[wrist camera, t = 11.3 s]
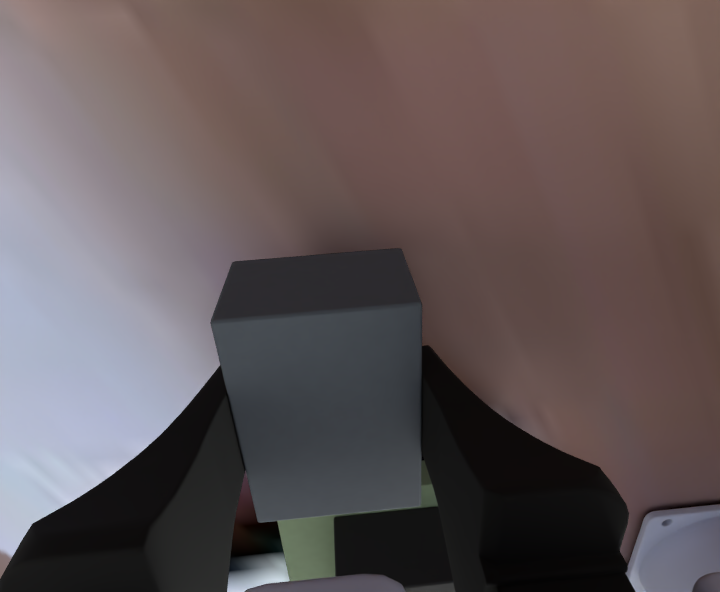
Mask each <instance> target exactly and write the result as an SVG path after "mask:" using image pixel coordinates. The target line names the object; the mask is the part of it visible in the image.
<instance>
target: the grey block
mask: <svg viewBox="0 0 720 592" xmlns="http://www.w3.org/2000/svg"><path fill="white" fill-rule="evenodd" d="M211 327H212V331H213V335H214V340H215V344H216V348H217V352H218V356H219V361H220V365H221V369H222V373H223V377H224V382H225V386H226V390H227V394H228V398H229V403H230V407H231V411H232V415H233V419H234V424H235V428H236V432H237V436H238V440H239V445H240V449H241V453H242V457H243V461H244V465H245V470H246V474H247V478H248V482H249V486H250V491H251V495H252V499H253V503H254V507H255V512H256V516H257V520H258V522H270V521H280V520H290V519H300V518H310V517H320V516H330V515H339V514H349V513H359V512H369V511H379V510H389V509H399V508H409V507H418V506H420V505H421V441H422V303H421V300H420V297H419V295H418V292H417V289H416V287H415V284H414V281H413V279H412V276H411V273H410V271H409V268H408V265H407V262H406V260H405V257H404V254H403V252H402V249H400V248H394V249H382V250H369V251H357V252H345V253H333V254H321V255H308V256H296V257H284V258H272V259H259V260H247V261H235V262H233V263H232V264H231V267H230V270H229V273H228V275H227V278H226V281H225V284H224V286H223V289H222V292H221V295H220V297H219V300H218V303H217V305H216V308H215V311H214V314H213V316H212V319H211Z"/></svg>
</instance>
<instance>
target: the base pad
mask: <svg viewBox="0 0 720 592" xmlns="http://www.w3.org/2000/svg"><path fill="white" fill-rule="evenodd" d="M428 507H438V504H437V500H436V496H435V493H434V489H433V486H432V483H431V480H430V477H429V473H428V470H427V467H426V464H425V461H424V460H423V461H421V505H420V506H418V507H409V508H399V509H389V510H379V511H369V512H359V513H349V514H339V515H330V516H320V517H310V518H300V519H290V520H280V521H277V522H278V527H279V531H280V536H281V541H282V546H283V550H284V555H285V560H286V565H287V570H288V574H289V579H290V581H299V580H308V579H318V578H327V577H335V549H334V518H335V517H341V516H351V515H361V514H370V513H380V512H390V511H399V510H409V509H419V508H428Z"/></svg>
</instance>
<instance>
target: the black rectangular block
mask: <svg viewBox="0 0 720 592" xmlns="http://www.w3.org/2000/svg"><path fill="white" fill-rule="evenodd" d="M334 549H335V577H337V576H346V575H356V574H378V575H385V576H387V577H389V578H391V579H393V580H395V581H397V582H399V583H400V584H402V586H403V588H404V590H405V592H455V588H454V583H453V577H452V572H451V567H450V562H449V557H448V552H447V547H446V542H445V537H444V532H443V527H442V522H441V517H440V513H439V508H438V507H428V508H419V509H409V510H399V511H390V512H380V513H370V514H361V515H351V516H341V517H335V518H334Z"/></svg>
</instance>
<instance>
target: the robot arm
mask: <svg viewBox="0 0 720 592" xmlns="http://www.w3.org/2000/svg"><path fill="white" fill-rule="evenodd" d="M421 451H422V455H423V458H424V461H425V464H426V467H427V470H428V473H429V477H430V480H431V483H432V486H433V489H434V493H435V496H436V500H437V504H438V508H439V513H440V517H441V522H442V527H443V532H444V537H445V542H446V547H447V552H448V557H449V562H450V567H451V572H452V577H453V583H454V588H455V592H720V504H716V505H706V506H697V507H687V508H678V509H668V510H659V511H652V512H650V513H648V514H647V515H646V516H645V517H644V520H643V523H642V526H641V529H640V532H639V535H638V538H637V541H636V544H635V547H634V549H633V552H632V555H631V558H630V561H629V564H628V567H627V563H626V562H625V560H624V558H623V556H622V555H621V553H620V551H619V550H620V546H621V543H622V540H623V537H624V534H625V530H626V527H627V524H628V517H629V512H628V509H627V506H626V503H625V502H624V500H623V499H622V497H621V496H620V494H619V492H618V491H617V489H616V488H615V487H614V485H613V484H612V482H611V481H610V480H609V479H608V477H607V476H606V475H605V474H604V473H603V471H602V470H601V469H600V467H598V466H596V465H593V464H591V463H588V462H586V461H584V460H581V459H579V458H576V457H574V456H571V455H569V454H567V453H564V452H562V451H560V450H558V449H556V448H554V447H552V446H550V445H548V444H546V443H544V442H542V441H541V440H539V439H537V438H535V437H533V436H532V435H530V434H528V433H527V432H525V431H523V430H522V429H520V428H518V427H517V426H515V425H514V424H512V423H511V422H509V421H508V420H506V419H505V418H503V417H502V416H501V415H499V414H498V413H497V412H495V411H494V410H493V409H491V408H490V407H489V406H488V405H486V404H485V403H484V402H483V401H482V400H481V399H479V398H478V397H477V396H476V395H475V394H474V393H473V392H472V391H471V390H470V389H468V388H467V387H466V386H465V385H464V384H463V383H462V382H461V381H460V380H459V379H458V378H457V377H456V376H455V374H454V373H453V372H452V371H451V370H450V369H449V368H448V367H447V366H446V365H445V364H444V362H443V361H442V360H441V359H440V358H439V357H438V355H437V354H436V353H435V352H434V350H433V349H432V348H431V347H430V346H422V441H421ZM244 473H245V465H244V461H243V457H242V453H241V449H240V445H239V440H238V436H237V432H236V428H235V424H234V419H233V415H232V411H231V407H230V403H229V398H228V394H227V390H226V386H225V382H224V377H223V373H222V369H221V365H220V366H219V367H218V369H217V370H216V371H215V372H214V374H213V375H212V376H211V378H210V379H209V380H208V381H207V383H206V384H205V385H204V386H203V388H202V389H201V390H200V391H199V393H198V394H197V395H196V396H195V397H194V399H193V400H192V401H191V402H190V403H189V405H188V406H187V407H186V408H185V409H184V410H183V412H182V413H181V414H180V415H179V416H178V417H177V418H176V419H175V420H174V421H173V422H172V424H171V425H170V426H169V427H168V428H167V429H166V430H165V431H164V432H163V433H162V434H161V435H160V436H159V437H158V438H157V439H156V440H155V441H153V442H152V443H151V444H150V445H149V446H148V447H147V448H146V449H144V450H143V451H142V452H141V453H140V454H139V455H137V456H136V457H135V458H134V459H132V460H131V461H130V462H128V463H127V464H126V465H125V466H123V467H122V468H121V469H119V470H118V471H117V472H116V473H114V474H113V475H112V476H110V477H109V478H107V479H106V480H105V481H103V482H102V483H100V484H99V485H97V486H96V487H94V488H93V489H91V490H90V491H88V492H87V493H85V494H83V495H82V496H80V497H79V498H77V499H75V500H74V501H72V502H71V503H69V504H67V505H65V506H64V507H62V508H60V509H58V510H56V511H55V512H53V513H51V514H49V515H48V516H46V517H44V518H42V519H40V520H39V521H37V522H35V523H33V524H32V526H31V527H30V529H29V530H28V532H27V533H26V535H25V536H24V538H23V540H22V541H21V543H20V545H19V547H18V548H17V550H16V552H15V554H14V555H13V557H12V559H11V561H10V563H9V565H8V566H7V568H6V570H5V572H4V573H3V575H2V577H1V579H0V592H227V585H228V575H229V564H230V554H231V545H232V536H233V527H234V521H235V515H236V510H237V505H238V501H239V496H240V491H241V487H242V482H243V478H244ZM625 572H626V573H625ZM245 592H405V590H404V588H403V586H402V584H400V583H399V582H397V581H395V580H393V579H391V578H389V577H387V576H385V575H378V574H356V575H346V576H337V577H327V578H318V579H308V580H299V581H289V582H280V583H270V584H265V585H261V586H257V587H254V588H250V589H247V590H246V591H245Z"/></svg>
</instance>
